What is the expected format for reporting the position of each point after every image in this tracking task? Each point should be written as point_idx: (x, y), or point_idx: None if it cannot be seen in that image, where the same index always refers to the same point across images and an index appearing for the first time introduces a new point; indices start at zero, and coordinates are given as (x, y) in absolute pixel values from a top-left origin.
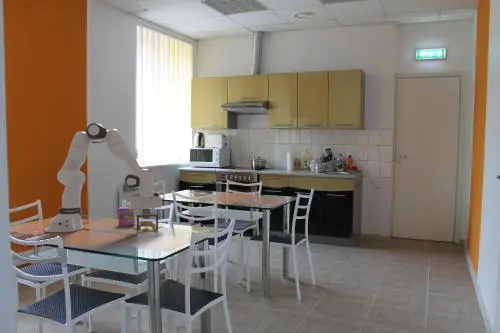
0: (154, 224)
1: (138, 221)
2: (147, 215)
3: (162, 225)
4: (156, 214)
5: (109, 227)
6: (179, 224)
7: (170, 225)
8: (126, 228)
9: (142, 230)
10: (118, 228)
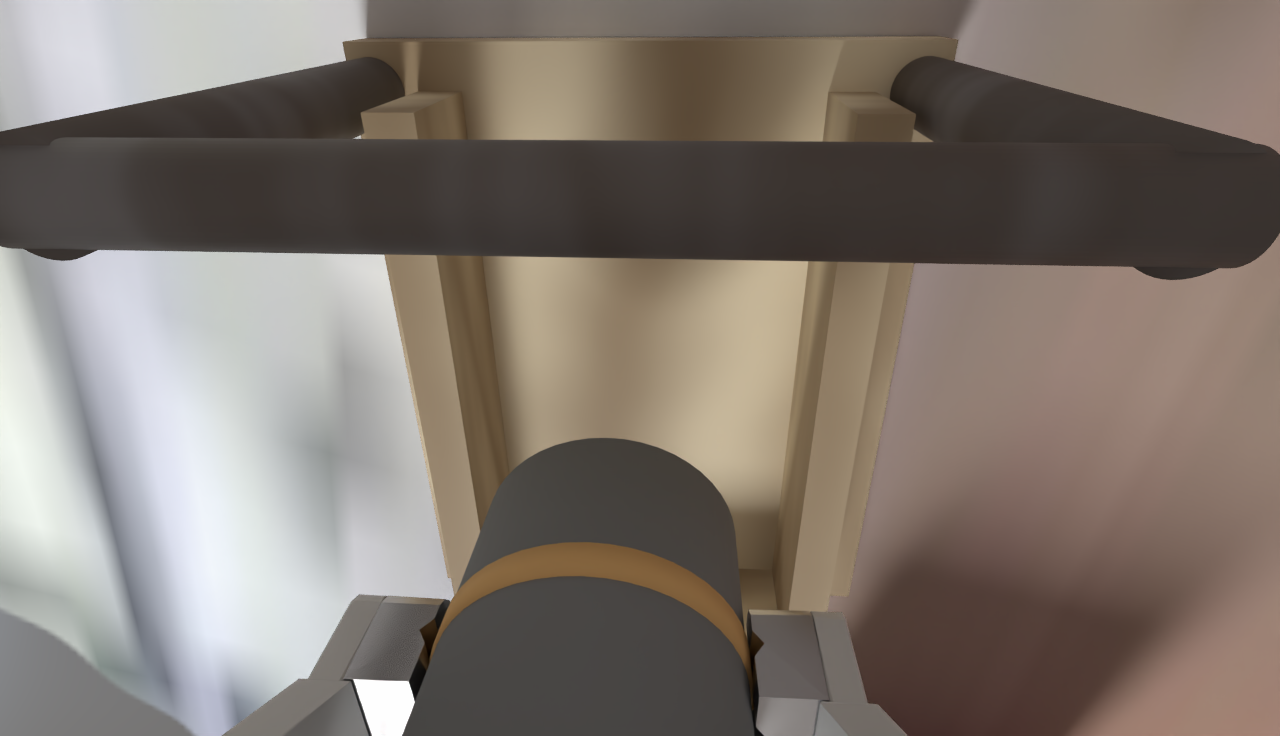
0: (394, 111)
1: (1027, 94)
2: (593, 147)
3: (305, 584)
4: (34, 186)
5: (1249, 699)
6: (5, 572)
7: (156, 545)
8: (1006, 545)
9: (796, 42)
10: (1148, 588)
